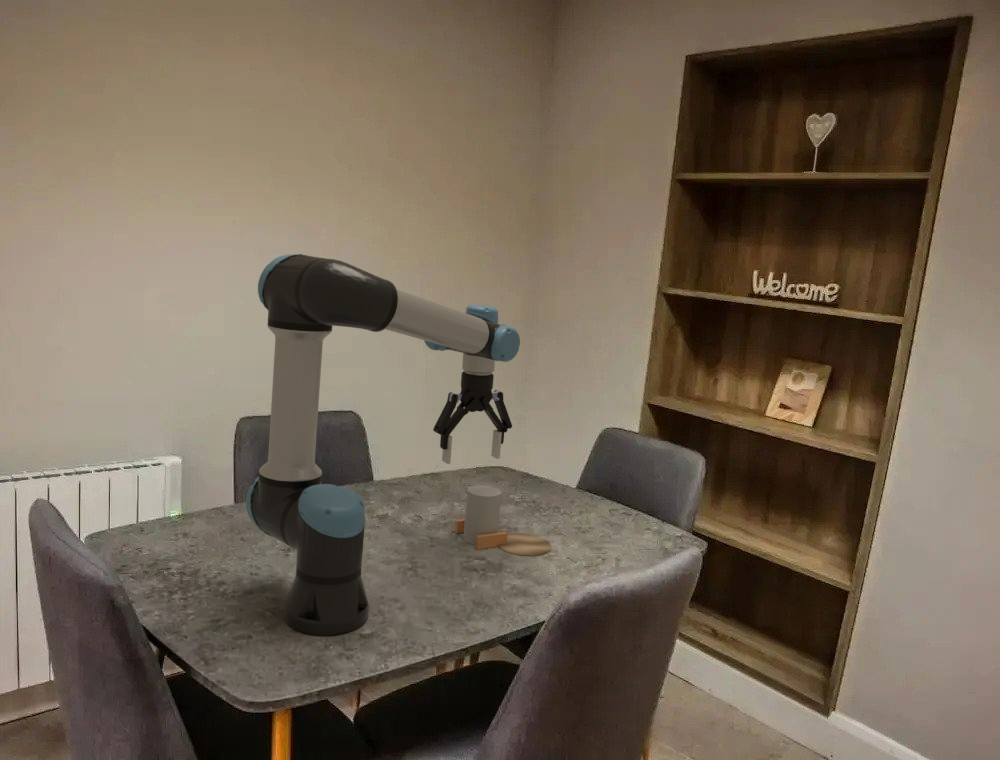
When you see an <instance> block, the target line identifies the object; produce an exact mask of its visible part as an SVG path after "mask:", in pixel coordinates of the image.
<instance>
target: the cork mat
mask: <svg viewBox="0 0 1000 760" xmlns="http://www.w3.org/2000/svg"><path fill="white" fill-rule="evenodd" d="M498 548H499V549H500V550H501V551H504V552H506V553H509V554H512V555H515V556H522V557H538V556H542V555H546V554H548V553H549V552H551V549H552V545H551V543H550V542H549V541H548V540H547V539H545V538H543V537H541V536H538V535H534V534H530V533H521V532H517V533H516V532H515V533H514V532H512V533H508V537H507V544H501V545H498Z"/></svg>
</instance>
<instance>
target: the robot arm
mask: <svg viewBox="0 0 1000 760" xmlns="http://www.w3.org/2000/svg"><path fill="white" fill-rule="evenodd" d="M257 284H258V285H257V294H258V298H259V300H260V303H261V304H262V305H263V306H264V307H263V308H265V310H267V313H268V314H267V328H268V329H269V330H270V331H271V333H272V334H273V335H274V338H275V340H274V354H273V355H274V356H273V357H274V358H273V371H272V372H273V373H272V387H271V390H272V392H271V403H270V405H271V407H270V421H269V422H270V423H269V424H270V425H269V438H268V440H269V442H268V453H267V454H268V457H267V461H266V462H265V463H264V464H263V465H262V466H260V468H259V470H258V476H257V477H256V478H255V479H254V483H253V484H251V485H250V486H249V488H248V490H247V493H246V498H245V499H246V500H245V506H246V507H245V508H246V512H247V515H248V518H249V520H250V521H251V522H252V524H253V525H255V526H256V527H257V528H258V529H259V530H260V532H261V531H262V532H263V533H264V534H266V535H267V536H269V537H273V538H274V539H276V540H278V541H279V542H282V543H284V544H285V545H286V546H289V547H290V548H292V549H294V550H295V551H296V563H295V565H296V568H295V577H294V579H293V582H292V585H291V586H290V590H289V593H288V595H287V597H286V599H285V603H284V610H283V612H284V613H283V619H284V621H285V623H286V624H287V625H288V626H289V627H291V629H294V630H295V631H297V632H300V633H303V634H308V635H314V636H331V635H332V636H334V635H335V636H336V635H340V634H345V633H349V632H352V631H354V630H356V629H358V628H360V627H361V626H363V625H364V624H365V623H366V622H367V619H368V618H369V606H370V605H369V599H368V596H367V593H366V589H365V586H364V582H363V579H362V566H363V565H362V564H363V553H364V552H363V549H364V541H365V539H364V538H365V526H366V512H365V511H366V509H365V506H366V505H365V503H364V500H363V498H362V497H361V495H359V493H357V492H355V491H354V490H352V489H350V488H349V487H346V486H342V485H340V486H339V485H338V486H337V485H336V484H331V483H322V478H323V471H322V468H320V467H319V466H318V464H316V450H317V449H316V447H317V431H318V418H319V404H320V403H319V402H320V386H321V375H322V374H321V373H322V361H323V360H322V359H323V347H324V346H323V344H324V339H325V338H326V337H328V335H330V334H331V333H332V332H333V327H334V326H335V327H344V328H354V329H359V330H360V329H361V330H362V329H363V330H366V331H370V332H373V333H380V332H382V331H384V330H386V331H391V332H394V333H397V334H400V335H405V336H408V337H412V338H414V339H418V340H422V341H423V342H424V343H425V345H426V346H427V348H428V349H430V350H433V351H441V352H444V351H454V352H457V353H460V354H461V353H462V354H463V355H462V366H461V367H462V368H461V369H462V370H463V371H462V372H461V378H460V388H461V389H460V392H459V393H454V392H451V391H450V392H448V394H447V399H446V403H445V405H444V406H443V409H442V411H441V413H440V415H439V417H438V419H437V421H436V422H435V424H434V427H433V429H432V430H433V432H434V433H436V434H438V435H440V439H439V440H440V441H439V443H440V444H439V446H440V449H442V452H441V453H442V455H441V461H442V462H444V463H445V464H447V465H450V464H451V459H452V444H453V436H452V435H451V433H452V432H453V431H454V430H455V428H456V427H457V425H458V424H459V423H460V422H461V421H462V419H463V418H464V417H465V416H466V415H468V413H474V412H475V413H476V412H480V413H481V412H483V411H484V413H485V414H486V416H487V418H489V420H490V421H491V423H492V424H493V426H494V427H495V428H496V429H493V430H492V431H493V432H492V440H491V441H492V442H491V443H492V444H491V456H492V457H493V458H494V459H496V460H497V459H498V460H499V459H501V447H502V445H503V444H504V441H505V433H507V432H508V430H509V429H512V428H513V423H512V421H511V418H510V415H509V413H508V409H507V407H506V404H505V402H504V392H502V391H500V390H497V389H494V391H493V386H494V376H495V375H494V374H493V373H494V372H495V365H496V364H495V363H496V362H504V363H507V362H510V361H512V360H514V358H515V357H516V356H517V355H518V353H519V350H520V346H521V337H520V333H519V332H518V330H517V329H516V328H514V327H512V326H509V325H506V324H503V323H502V324H499V309H497V307H494V306H492V305H483V304H482V305H481V304H471V305H470V304H469V305H468V306H467V307H466V309H465V312H464V311H461V310H457V309H454V308H451V307H449V306H446V305H444V304H440V303H436V302H434V301H431V300H429V299H426V298H423V297H419V296H417V295H414V294H410V293H408V292H405V291H402V290H399V289H398V288H397V286H396V285H395V284H394V283H393V282H392V281H390V280H387V279H385V278H382V277H379V276H378V275H376V274H374V273H373V274H372V273H371V272H369V271H366V270H365V269H362V268H359V267H357V266H354V265H353V264H350V263H347V262H345V261H342V260H338V259H335V258H324V257H319V256H312V255H307V254H302V253H297V254H296V253H294V254H293V253H292V254H284V255H280V256H277V257H275V258H274V259H272V260H271V261H270V262H269V263H268V264H267V265H265V266H264V268H263V270H262V272H261V273H260V276H259V278H258V283H257ZM492 400H493V401H494V404H495V408H496V411H497V413H498V415H497V414H496V412H495V410H494V408H493V406H492V405H491V403H490V402H491V401H492ZM459 402H460V403H459ZM457 403H459V404H458V405H457ZM455 409H456V410H455Z"/></svg>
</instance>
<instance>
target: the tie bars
mask: <svg viewBox="0 0 1000 760" xmlns="http://www.w3.org/2000/svg"><path fill="white" fill-rule="evenodd" d="M464 524H465V518H460V519H455V521H454V533H456V534H461V533H464ZM508 534H509V533H508V532H507V531H501V532H498V533H492V534H485V535H477V536H476V544H474V545H475V546H474V548H475V550H483V549H489V548H497V547H498V545H501V544H507V537H508ZM498 548H499V547H498Z"/></svg>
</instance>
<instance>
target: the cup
mask: <svg viewBox="0 0 1000 760" xmlns="http://www.w3.org/2000/svg"><path fill="white" fill-rule="evenodd" d="M466 490H467V492H466V503H465V515H464V519H465V524H464V532H463V540H464V541H465V542H466V543H470V544H473V545H476V536H477V535H485V534H492V533H499V523H500V512H501V503H502V490H501V489H499V488H498V487H494V486H491V485H485V484H484V485H479V484H477V485H472V486H469V487H468V488H467V489H466Z"/></svg>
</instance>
